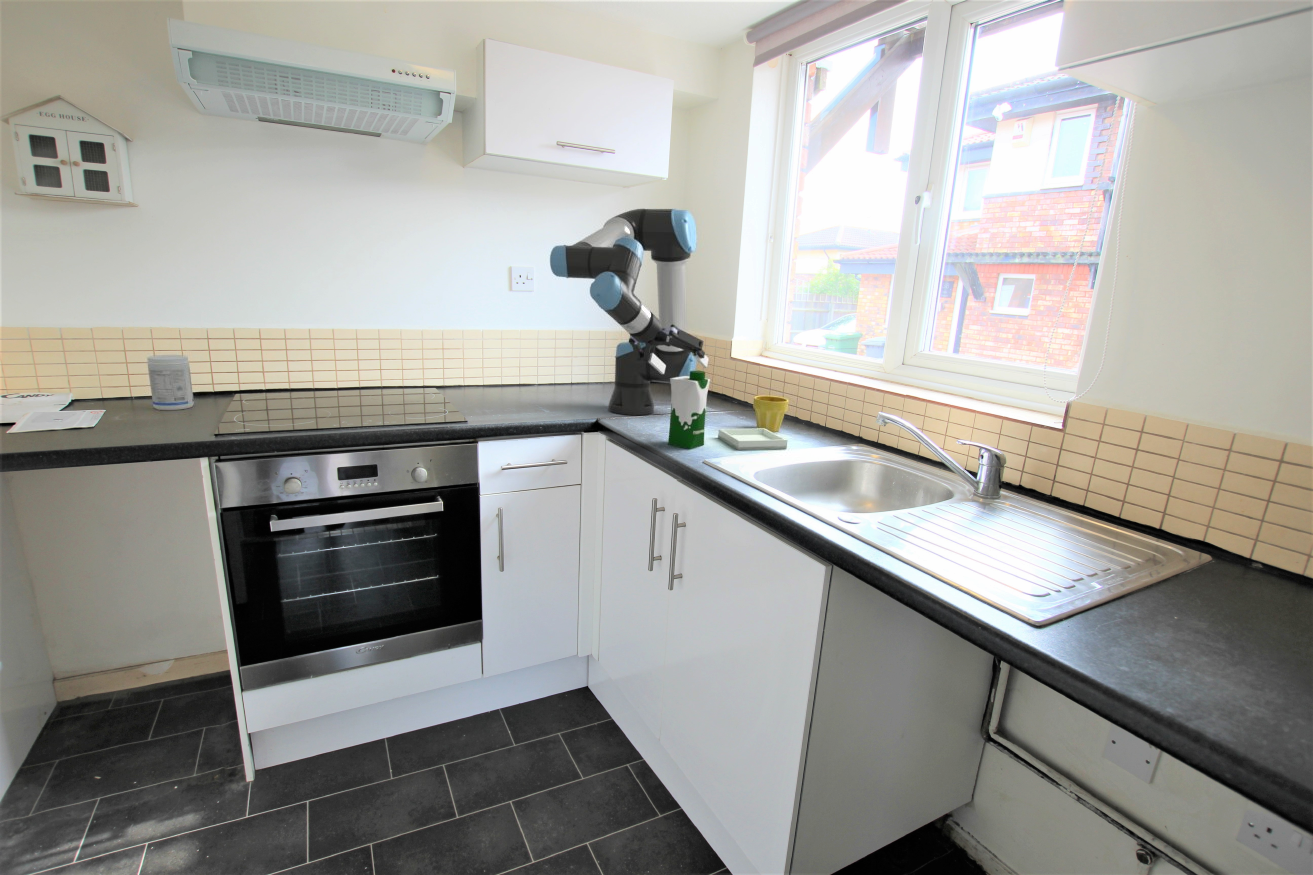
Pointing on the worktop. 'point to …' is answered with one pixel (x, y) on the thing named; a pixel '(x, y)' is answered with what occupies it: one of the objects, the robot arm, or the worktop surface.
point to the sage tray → (752, 439)
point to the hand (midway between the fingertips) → (684, 366)
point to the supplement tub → (170, 382)
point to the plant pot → (770, 411)
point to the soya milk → (688, 410)
